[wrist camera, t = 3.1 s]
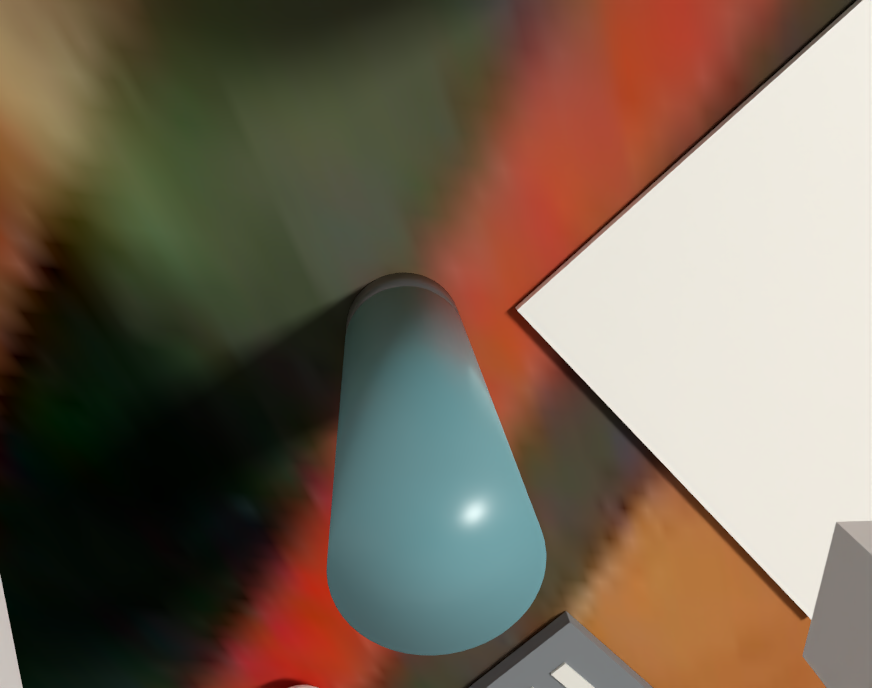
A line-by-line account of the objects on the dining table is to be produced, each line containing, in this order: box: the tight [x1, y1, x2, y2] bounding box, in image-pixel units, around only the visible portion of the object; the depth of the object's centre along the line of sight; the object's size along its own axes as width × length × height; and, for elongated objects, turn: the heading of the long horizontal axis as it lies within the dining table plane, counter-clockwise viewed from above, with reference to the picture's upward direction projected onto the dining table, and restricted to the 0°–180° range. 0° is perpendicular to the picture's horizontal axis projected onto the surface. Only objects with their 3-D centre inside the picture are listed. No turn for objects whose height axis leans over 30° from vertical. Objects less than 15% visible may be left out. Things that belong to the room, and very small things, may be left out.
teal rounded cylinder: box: [327, 273, 546, 655], centre depth 18 cm, size 4×4×12 cm
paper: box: [515, 0, 872, 620], centre depth 25 cm, size 18×14×1 cm
